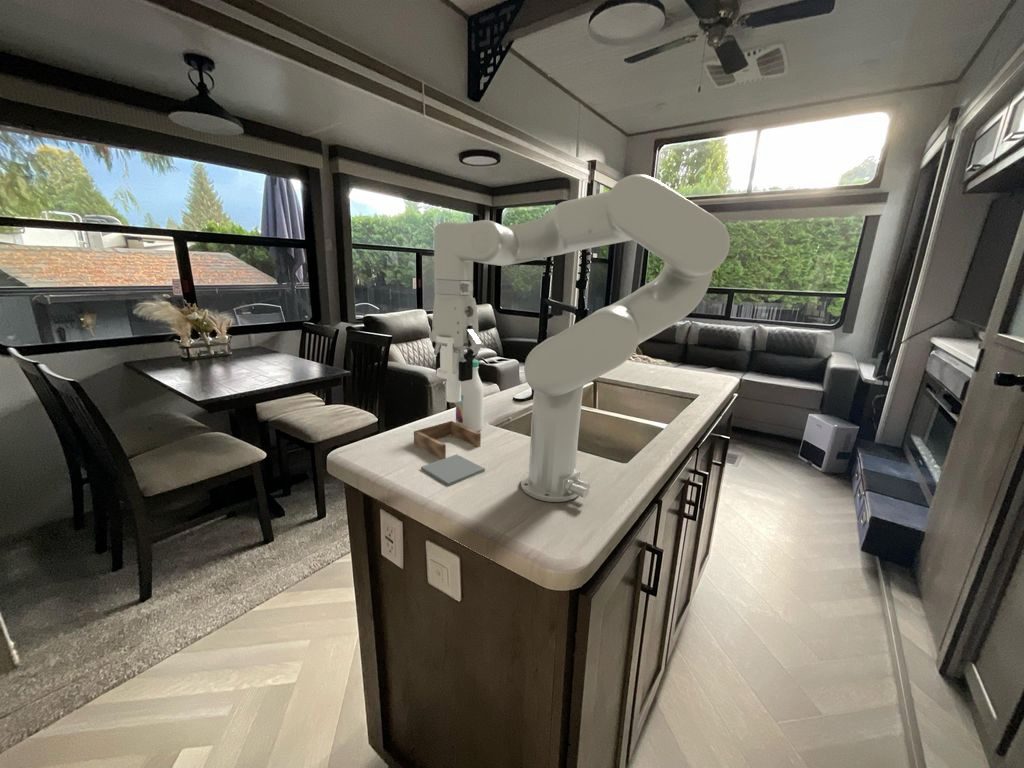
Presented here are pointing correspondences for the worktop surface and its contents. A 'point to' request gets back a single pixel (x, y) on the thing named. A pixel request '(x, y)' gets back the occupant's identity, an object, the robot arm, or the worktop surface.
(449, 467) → the trivet
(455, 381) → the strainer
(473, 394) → the milk bottle
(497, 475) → the worktop surface
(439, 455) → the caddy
